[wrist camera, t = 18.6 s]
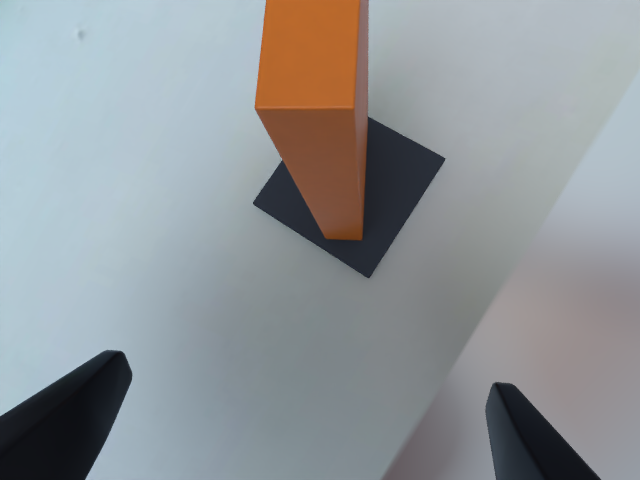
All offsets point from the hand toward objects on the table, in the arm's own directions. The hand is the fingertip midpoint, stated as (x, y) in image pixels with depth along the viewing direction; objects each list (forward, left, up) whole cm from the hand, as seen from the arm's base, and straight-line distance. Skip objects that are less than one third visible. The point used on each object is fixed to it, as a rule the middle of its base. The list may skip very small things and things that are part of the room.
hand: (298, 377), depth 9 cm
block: (+4, -7, -8) cm, 12 cm away
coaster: (+4, -7, -9) cm, 12 cm away
